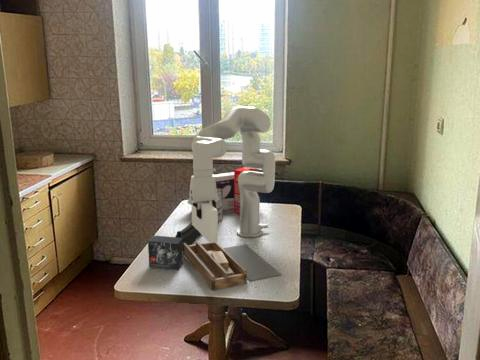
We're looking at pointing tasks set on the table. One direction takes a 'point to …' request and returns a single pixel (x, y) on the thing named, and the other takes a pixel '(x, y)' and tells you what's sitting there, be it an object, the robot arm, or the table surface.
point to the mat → (252, 263)
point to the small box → (165, 252)
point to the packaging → (226, 188)
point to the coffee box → (219, 205)
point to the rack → (214, 265)
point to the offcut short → (220, 258)
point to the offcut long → (224, 268)
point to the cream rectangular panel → (206, 221)
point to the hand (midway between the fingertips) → (203, 216)
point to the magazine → (188, 234)
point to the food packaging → (236, 188)
